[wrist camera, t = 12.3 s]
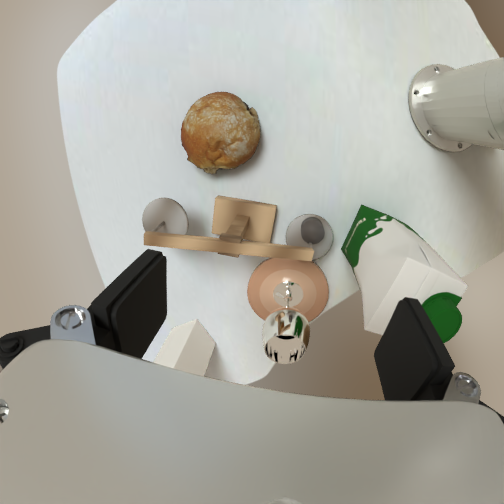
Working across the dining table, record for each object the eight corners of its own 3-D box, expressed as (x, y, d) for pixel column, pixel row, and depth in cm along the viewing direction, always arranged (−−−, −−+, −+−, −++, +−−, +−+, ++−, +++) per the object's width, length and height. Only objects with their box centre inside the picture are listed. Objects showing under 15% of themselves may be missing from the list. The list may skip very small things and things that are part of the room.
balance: (334, 213, 37) (352, 249, 26) (324, 253, 40) (335, 302, 28) (165, 184, 39) (118, 208, 27) (163, 224, 41) (120, 259, 30)
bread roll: (270, 139, 38) (285, 120, 30) (219, 191, 37) (224, 182, 30) (218, 95, 36) (222, 68, 28) (166, 144, 36) (158, 125, 28)
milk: (197, 317, 47) (148, 422, 27) (216, 343, 49) (180, 448, 29) (171, 328, 49) (118, 423, 29) (190, 351, 51) (149, 448, 31)
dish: (337, 262, 40) (338, 266, 39) (316, 327, 45) (316, 332, 44) (254, 247, 41) (253, 250, 40) (243, 314, 46) (242, 319, 45)
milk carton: (384, 272, 40) (432, 367, 21) (331, 251, 39) (357, 349, 21) (410, 220, 36) (486, 293, 18) (357, 194, 36) (414, 258, 18)
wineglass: (315, 289, 41) (321, 344, 30) (293, 316, 43) (291, 373, 32) (281, 270, 40) (276, 321, 29) (261, 299, 43) (250, 354, 32)
